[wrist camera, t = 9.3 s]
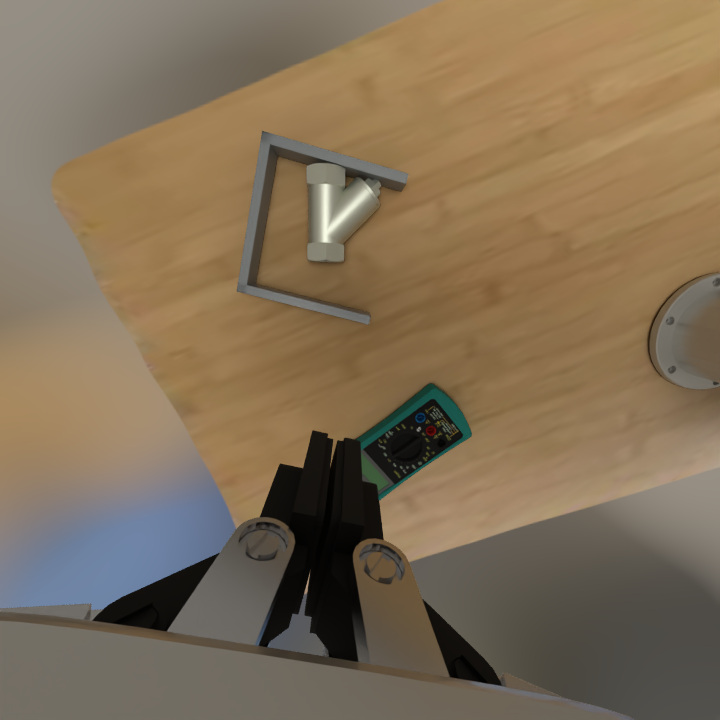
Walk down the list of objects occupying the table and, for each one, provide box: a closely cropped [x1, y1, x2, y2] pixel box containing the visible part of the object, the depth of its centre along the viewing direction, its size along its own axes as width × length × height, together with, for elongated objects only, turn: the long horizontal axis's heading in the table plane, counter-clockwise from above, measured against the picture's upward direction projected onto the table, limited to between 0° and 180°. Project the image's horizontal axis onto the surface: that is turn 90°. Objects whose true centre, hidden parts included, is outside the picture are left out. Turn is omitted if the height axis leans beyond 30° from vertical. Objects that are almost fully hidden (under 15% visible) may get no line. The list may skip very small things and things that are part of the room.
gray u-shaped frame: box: [237, 131, 408, 325], centre depth 32 cm, size 13×14×3 cm
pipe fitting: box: [307, 163, 381, 262], centre depth 31 cm, size 8×4×7 cm
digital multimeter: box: [356, 384, 472, 500], centre depth 38 cm, size 7×15×3 cm, turn 129°
